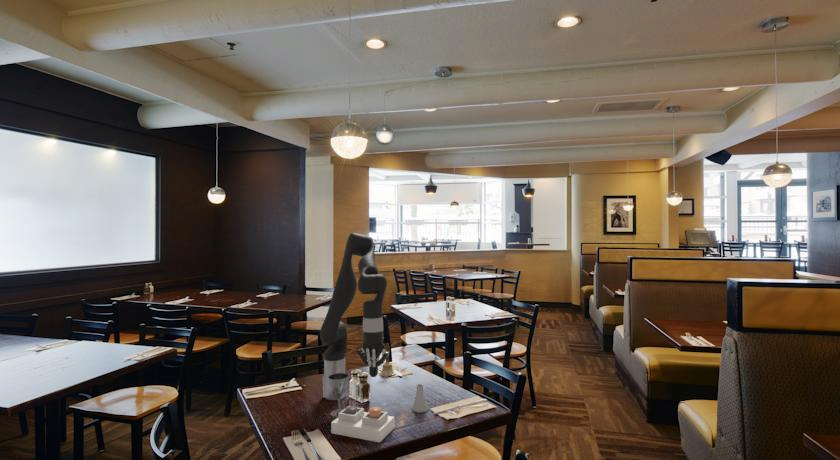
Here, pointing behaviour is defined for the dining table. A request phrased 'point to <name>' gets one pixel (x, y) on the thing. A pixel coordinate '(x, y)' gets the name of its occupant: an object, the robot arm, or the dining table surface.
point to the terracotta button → (375, 412)
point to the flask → (420, 400)
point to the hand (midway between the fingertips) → (373, 376)
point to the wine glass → (338, 388)
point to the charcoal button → (351, 410)
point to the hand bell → (387, 365)
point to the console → (363, 425)
